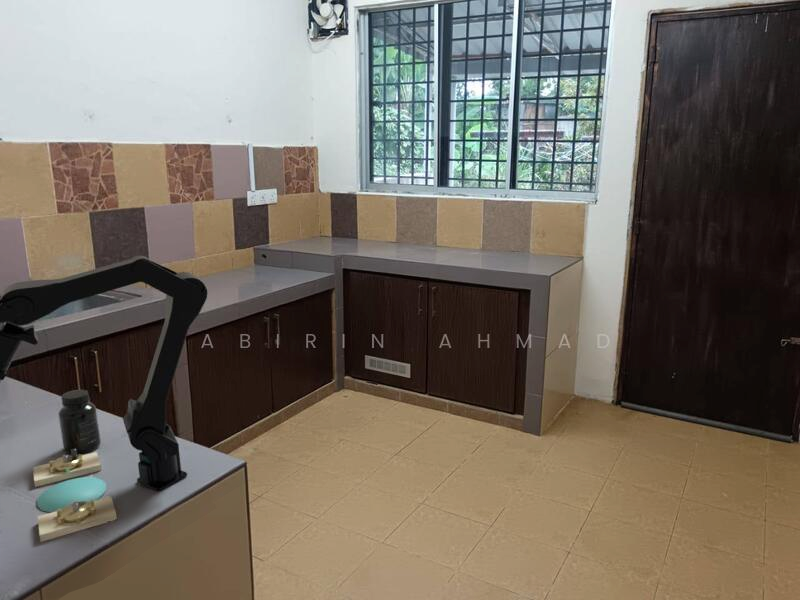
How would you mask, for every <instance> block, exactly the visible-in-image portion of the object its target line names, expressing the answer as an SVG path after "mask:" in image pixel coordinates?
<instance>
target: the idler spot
mask: <svg viewBox="0 0 800 600" xmlns="http://www.w3.org/2000/svg"><path fill="white" fill-rule="evenodd" d="M106 491H107V483H106V481H104V480H103V479H101V478H98V477H90V476H88V477H75V478H70V479H66V480H65V481H64V480H63V481H61V482H59V483H56V484H54V485H52V486H50V487H48V488H47V489H46V490H44V491H43V492H42V493H41V494H40V495H38V497H37V499H36V506H37V508H38V509H40V510H41V511H43V512H46V513H52V512H56V511H57V510H58V509H63V508H64V507H66V506H68V505H70V504H72V503H73V502H72V501H75V500H76V501H77V502H88V501H90V500H93V501H95V500H99V499H101V498H102V496H103V495H104V494H105V493H106Z"/></svg>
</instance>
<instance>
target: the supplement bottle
mask: <svg viewBox="0 0 800 600" xmlns="http://www.w3.org/2000/svg"><path fill="white" fill-rule="evenodd" d="M61 405H62V407H61V408H60V409H59V411H58V421H59V427H60V428H59V429H60V434H61V435H60V436H61V441H62V446H63V447H62V448H63V450H64V452H65V453H66V454H67V455H72V454H71V449H73V448H76V451H77V455H78V454H82V455H85V454H89V453H92V452H95V450H96V449H98V448H99V446H100V445H101V435H100V428H99V421H98V413H97V408H96V405H95V404H94V402H93V403H92V402H91V401H90V396H89V391H88V390H85V389H74V390H70V391H67V392H65V393H63V394H62V395H61Z"/></svg>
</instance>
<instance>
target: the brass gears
mask: <svg viewBox="0 0 800 600" xmlns="http://www.w3.org/2000/svg"><path fill="white" fill-rule="evenodd" d="M71 454H72V455H70V454H67V453H66V454H62V457H58V458H56V459H55V460H50V461H49V464H50V467H51V468H50V470H51V473H55V472H66V473H69V472H70V470H73V469H75V468H77V467H78V466H83V465H84V463H83V460H82V455H83V454H78V455H77V451H76V448H73V449H71ZM72 502H73V503H72V504H70V505H68V506H66V507H64V508H63V509H58V510H57V516H61V517H60V518H58V523H59V524H60V525H62V524H64V523H75V522H76V523H77V524H80V523H81V521H82V520H84V519H86V518H88V517H89V516H90V515H95V514H96V508H92V507H93V506H94V501H93V500H90V501H88V502H77V501H76V500H75V501H72Z"/></svg>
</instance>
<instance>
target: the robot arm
mask: <svg viewBox="0 0 800 600" xmlns="http://www.w3.org/2000/svg"><path fill="white" fill-rule="evenodd" d="M137 283H143V284H145V285H148V286H150V287H151V288H153V289H156V290H157V291H159V292H161V293H163V294H164V295H165V307H164V308H165V309H164V310H165V311H164V313H165V314H164V322H163V325H162V329H161V331H160V332H161V333H160V335H159V338H158V342H157V346H156V348H155V351H154V352H155V353H154V355H153V359H152V360H151V361H152V362H151V365H150V369H149V370H148V371H149V372H148V376H147V379H146V383H145V385H144V388H143V391H142V393H141V395H140V396H139V397H138V398H137V400H134V399H132V398H130V399H129V400H128V403H127V411H126V412H125V415H124V416H123V417H122V420H123V424H124V428H125V431H126V433H127V436H128V439H129V443H130V445H131V446H132V447H133V448H134V449H136V451H140V452H139V453H138V456H139V457H138V459H139V462H138V463H137V466H138V474H139V476H138V478H136V482H137V483H139V484H141V485H143V486H145V487H148V488H151V489H153V490H154V491H158V492H159V491H162V490H164V489H165V488H167V487H169V486H171V485H172V484H174V483H176V482H178V481H180V480H182V479H184V478H185V477H187V476H188V472H187V471H184V470H182V467H181V466H182V464H181V455H180V454H181V453H180V447H179V446H180V445H179V442H178V440H177V438H176V436H175V434H174V432H173V430H172V427H171V426H170V425H169V424H167V401H168V397H169V394H170V390H171V387H172V385H173V380H174V377H175V374H176V370H177V367H178V364H179V361H180V357H181V354H182V351H183V348H184V345H185V343H186V342H185V341H186V338H187V334H188V332H189V329H190V327H191V325H192V324H193V323H194V322H195V320H196V319H197V317H198V316H199V315H200V313H201V311H202V309H203V308H204V305H205V303H206V301H207V298H208V289H207V287H206V284H205V283H204V282H203V281H201V280H200V279H199V278H198V277H197V276H195V275H194V274H193V273H191V272H188V271H187V272H186V271H181V272H176V271H174V270H173V269H170V268H168V267H166V266H163V265H161V264H160V263H157V262H155V261H152V260H151V259H150V258H148V257H147V256H145V255H135V256H133V257H132V258H130V259H126V260H123V261H119V262H116V263H111V264H108V265H105V266H102V267H101V266H100V267H98V268H95V269H90V270H87V271H83V272H79V273H77V274H72V275H68V276H66V277H63V278H53V279H35V280H29V281H27V280H26V281H18V282H14V283H12V284H9V285H8V286H6V287H5V288H4V289H3V291H2V293H1V294H0V383H1V381H4V379H5V378H6V376H7V372H8V370H9V367H10V366H11V363H13V360H14V358H15V356H16V354H17V353H18V352H19V351H18V350H19V349H20V347H21V345H22V344H23V342H25V343H28V344H31V345H33V346H36V345H37V344H38V343H39V337H38V335H37V333H36V331H35V330H36V329H35V325H34V324H31V323H33V322H35V321H38V320H40V319H42V318H44V317H46V316H48V315H51V314H52V313H54V312H55V311H57V310H58V309H60V308H62V307H63V306H66V305H67V304H70V303H74V302H77V301H80V300H84V299H86V298H87V299H88V298H91V297H94V296H96V295H100V294H104V293H107V292H110V291H114V290H118V289H121V288H124V287H128V286H131V285H134V284H137ZM29 324H30V325H29ZM24 325H28V326H24Z"/></svg>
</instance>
